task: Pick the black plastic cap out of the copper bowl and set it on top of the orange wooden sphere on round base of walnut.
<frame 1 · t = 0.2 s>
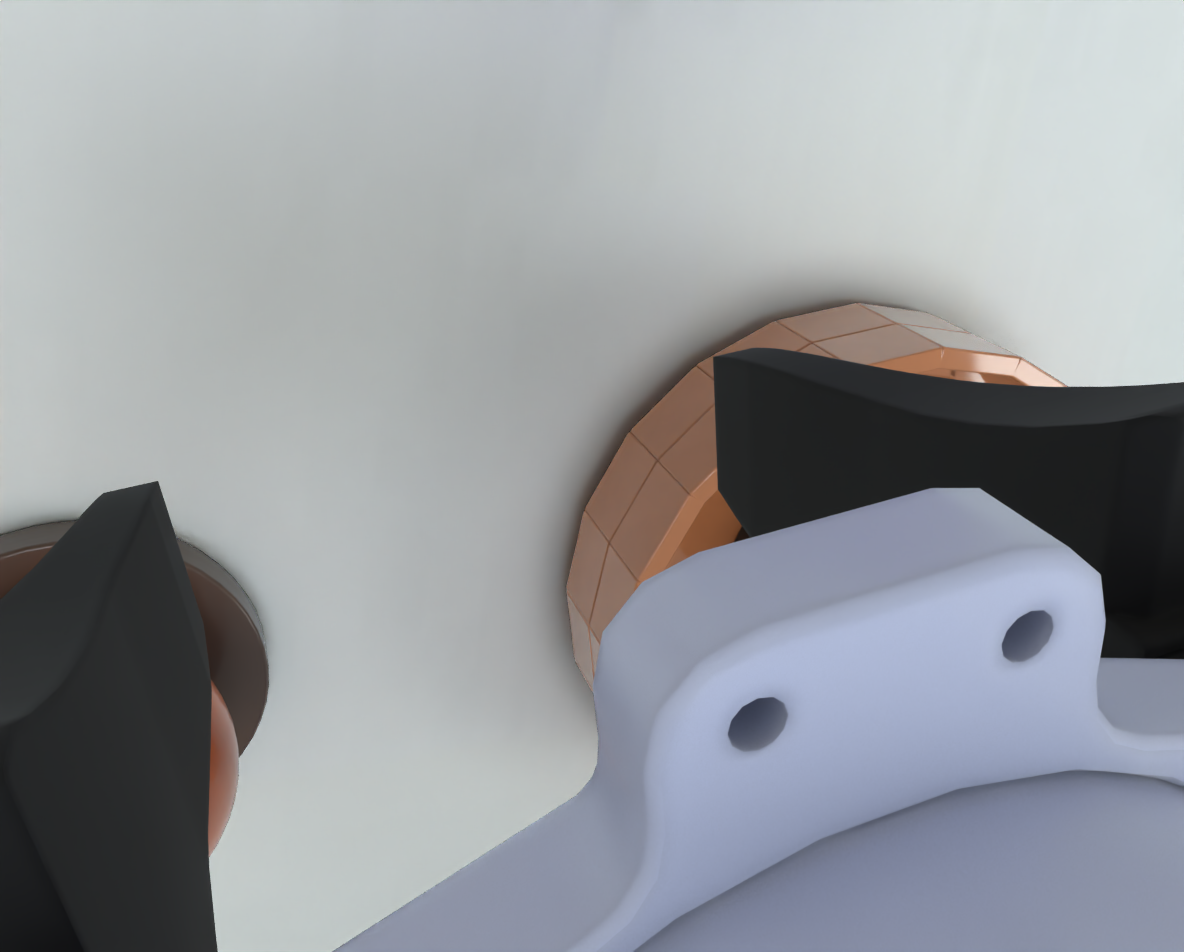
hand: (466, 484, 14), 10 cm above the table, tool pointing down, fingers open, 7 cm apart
bowl: (802, 546, 29), on the table
sphere on round base: (88, 671, 24), on the table
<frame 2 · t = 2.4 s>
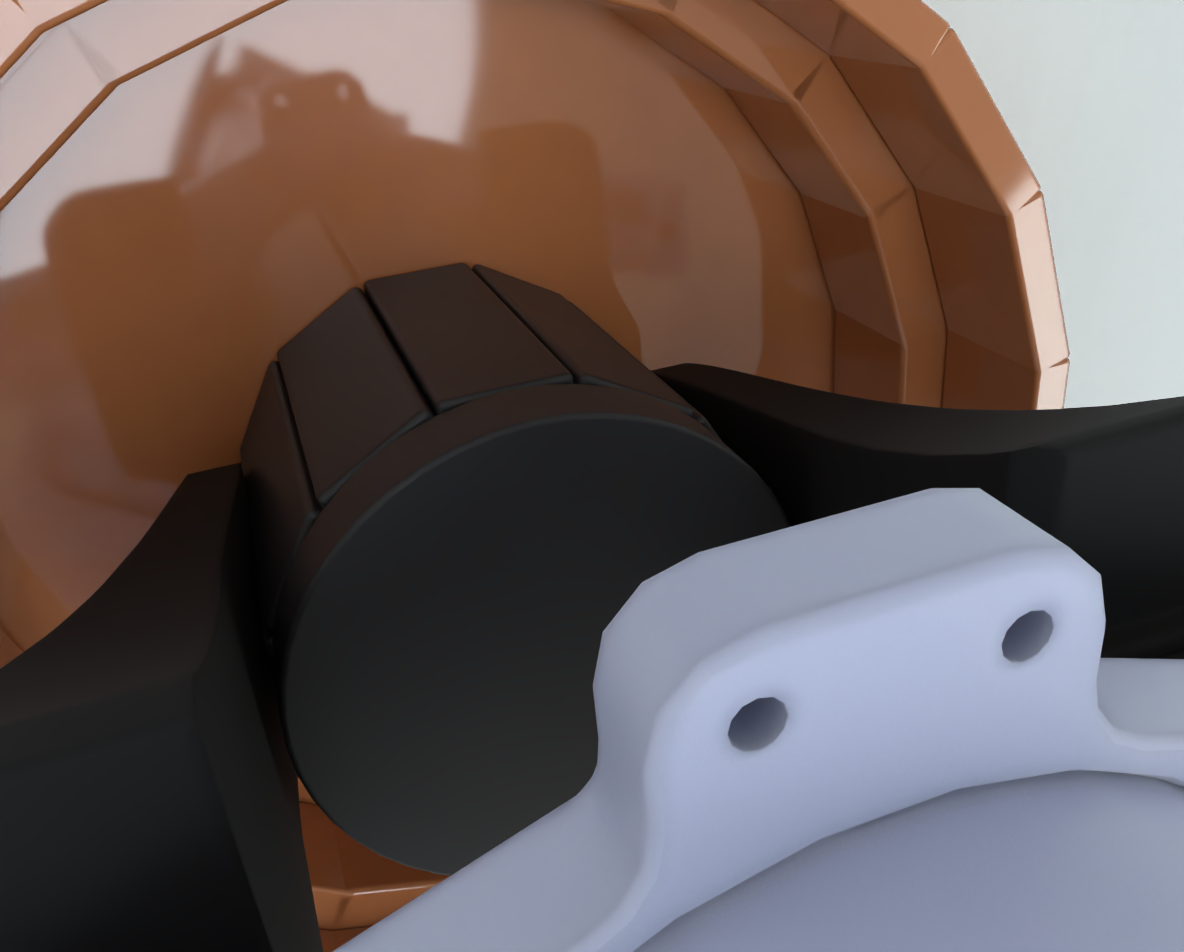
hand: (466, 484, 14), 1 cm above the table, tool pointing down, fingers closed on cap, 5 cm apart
bowl: (442, 441, 15), on the table
cap: (446, 457, 14), point 1 cm above the table, touching bowl, gripper
when the fingers open (7 cm above the table, at t = 6.6 s): cap stays where it is, resting on sphere on round base.
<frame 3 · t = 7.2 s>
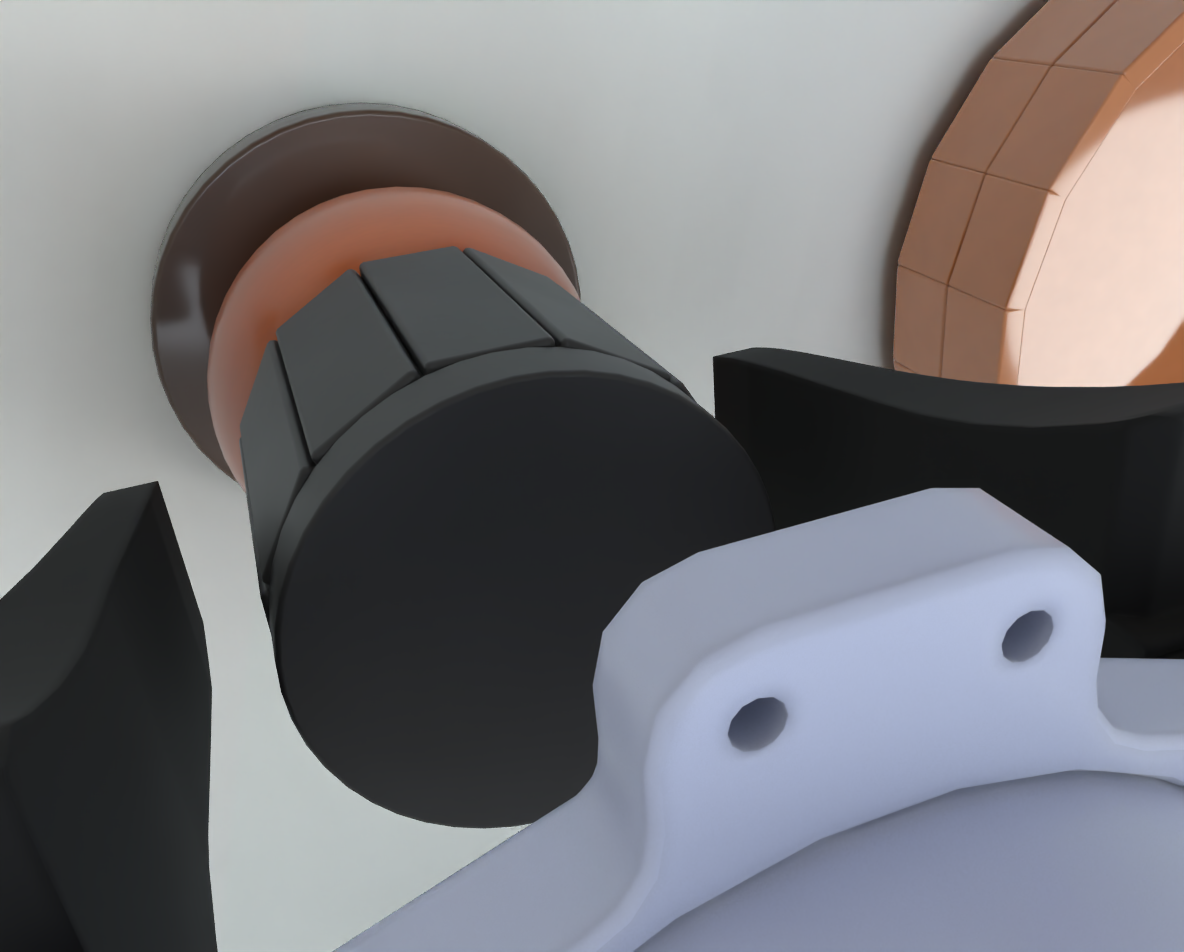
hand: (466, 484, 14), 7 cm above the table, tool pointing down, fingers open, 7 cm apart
bowl: (1133, 250, 25), on the table
sphere on round base: (372, 317, 20), on the table
cap: (439, 435, 15), point 6 cm above the table, touching sphere on round base
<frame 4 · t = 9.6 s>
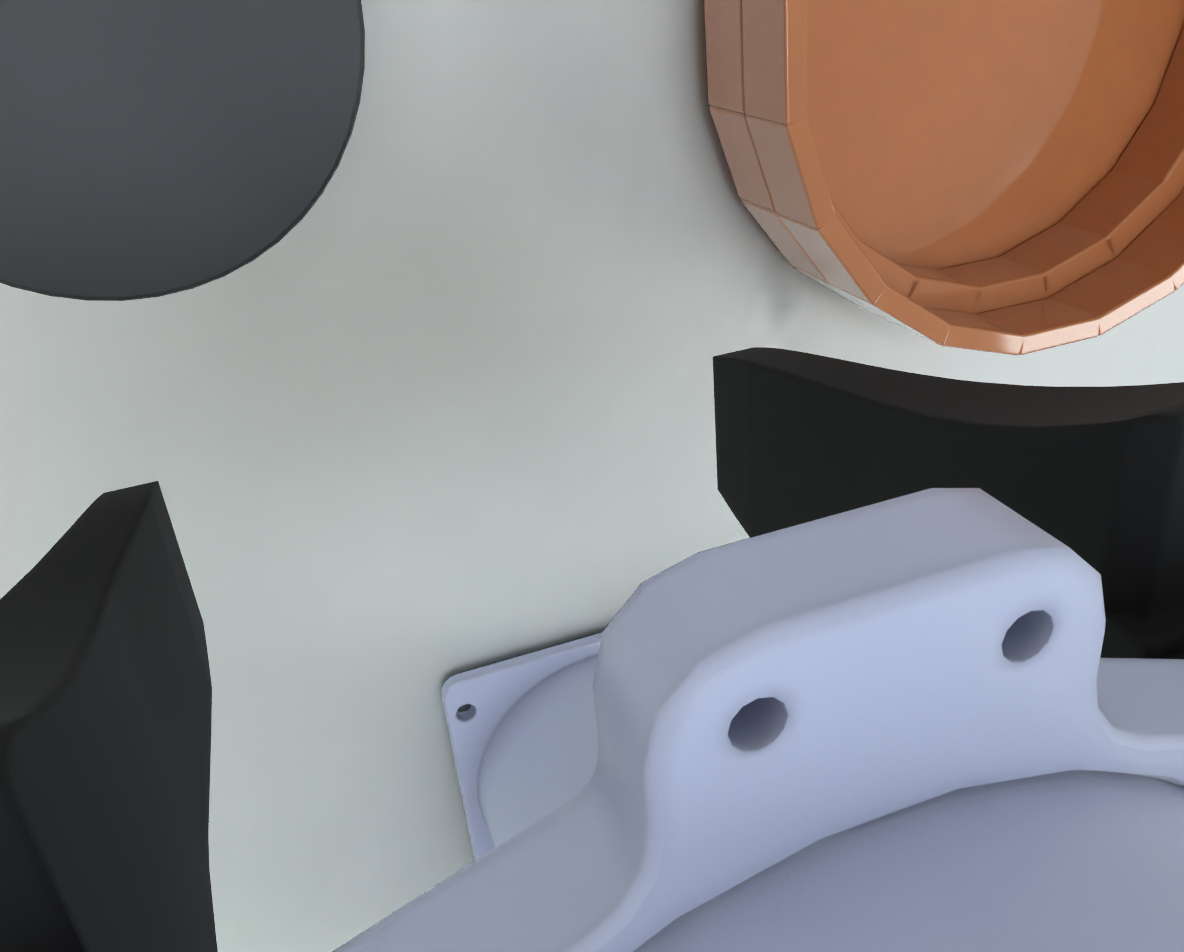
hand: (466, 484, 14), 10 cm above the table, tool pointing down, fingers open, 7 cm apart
bowl: (970, 11, 25), on the table
cap: (113, 18, 14), point 6 cm above the table, touching sphere on round base
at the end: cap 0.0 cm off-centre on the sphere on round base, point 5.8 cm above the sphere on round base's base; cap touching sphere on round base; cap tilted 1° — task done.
